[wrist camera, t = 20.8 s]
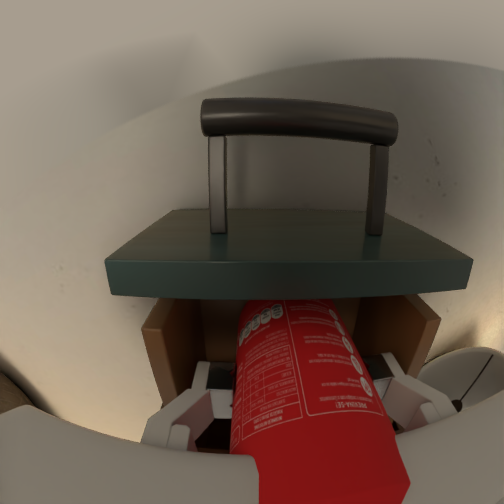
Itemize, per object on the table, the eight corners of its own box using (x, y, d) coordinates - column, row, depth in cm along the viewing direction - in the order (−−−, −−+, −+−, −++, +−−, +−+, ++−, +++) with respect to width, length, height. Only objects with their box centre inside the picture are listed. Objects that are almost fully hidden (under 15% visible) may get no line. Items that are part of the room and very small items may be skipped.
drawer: (170, 122, 13) (94, 93, 6) (390, 131, 13) (486, 124, 6) (196, 393, 19) (180, 475, 12) (347, 389, 19) (373, 465, 12)
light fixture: (393, 501, 26) (327, 425, 21) (467, 432, 28) (453, 305, 24) (439, 549, 9) (427, 544, 5) (521, 466, 12) (574, 336, 7)
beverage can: (314, 256, 13) (436, 493, 2) (341, 330, 15) (416, 518, 4) (222, 295, 14) (181, 540, 3) (261, 361, 16) (269, 555, 4)
